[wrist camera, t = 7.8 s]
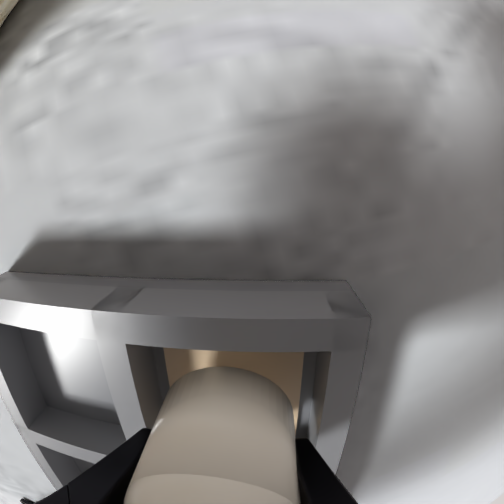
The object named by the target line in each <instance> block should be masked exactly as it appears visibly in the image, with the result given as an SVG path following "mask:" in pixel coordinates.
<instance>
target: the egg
mask: <svg viewBox="0 0 504 504" xmlns="http://www.w3.org/2000/svg"><path fill="white" fill-rule="evenodd" d="M295 438H296V437H295V426H294V415H293V408H292V405H291V402H290V400H289V398H288V397H287V395H286V394H285V393H284V392H283V390H282V389H281V388H280V387H279V386H277V385H276V384H275V383H274V382H272V381H271V380H269V379H267V378H266V377H264V376H262V375H259V374H257V373H255V372H252V371H248V370H245V369H240V368H235V367H225V366H223V367H207V368H202V369H198V370H195V371H192V372H189V373H187V374H185V375H183V376H182V377H180V378H179V379H178V380H177V381H176V382H175V383H173V385H172V386H171V387H170V389H169V391H168V393H167V395H166V397H165V400H164V402H163V404H162V407H161V409H160V411H159V414H158V416H157V418H156V421H155V423H154V426H153V428H152V430H151V433H150V435H149V437H148V440H147V442H146V445H145V447H144V450H143V452H142V454H141V457H140V459H139V462H138V464H137V467H136V469H135V471H134V474H133V476H132V479H131V481H130V484H129V486H128V489H127V491H126V495H125V498H124V504H301V501H300V489H299V481H298V473H297V462H296V444H295Z"/></svg>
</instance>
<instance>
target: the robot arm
mask: <svg viewBox="0 0 504 504" xmlns="http://www.w3.org/2000/svg"><path fill="white" fill-rule="evenodd" d="M151 430H152V429H149V428H142V429H140V430H139V431H138V432H137V433H135V434H134V435H133V436H131V437H130V438H129V439H128V440H126V441H125V442H124V443H122V444H121V445H120V446H118V447H117V448H116V449H114V450H113V451H112V452H110V453H109V454H108V455H106V456H105V457H104V458H102V459H101V460H100V461H98V462H97V463H96V464H94V465H93V466H91V467H90V468H89V469H87V470H86V471H85V472H83V473H82V474H80V475H79V476H78V477H76V478H75V479H73V480H72V481H70V482H69V483H68V485H67V484H66V485H64V486H63V487H62V488H60V489H59V490H57V491H56V492H54V493H52V494H51V495H49V496H48V497H46V498H44V499H42V500H40V501H38V502H36V503H34V504H124V498H125V495H126V491H127V489H128V486H129V484H130V481H131V479H132V476H133V474H134V471H135V469H136V467H137V464H138V462H139V459H140V457H141V454H142V452H143V450H144V447H145V445H146V442H147V440H148V437H149V435H150V433H151ZM295 444H296V462H297V473H298V481H299V489H300V501H301V504H358V503H357V502H356V500H355V499H354V498H353V497H352V495H351V494H350V493H349V492H348V490H347V489H346V488H345V487H344V485H343V484H342V483H341V481H340V480H339V479H338V478H337V476H336V475H335V474H334V472H333V471H332V470H331V468H330V467H329V466H328V464H327V463H326V462H325V460H324V459H323V458H322V456H321V455H320V454H319V452H318V451H317V450H316V448H315V447H314V446H313V444H312V443H311V442H310V440H309V439H308V438H295ZM20 502H21V503H22V504H32V503H30V502H28V501H26V500H24V499H21V500H20Z"/></svg>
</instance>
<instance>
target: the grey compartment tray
mask: <svg viewBox="0 0 504 504" xmlns="http://www.w3.org/2000/svg"><path fill="white" fill-rule="evenodd" d="M370 323H371V316H370V314H369V313H368V311H367V310H366V308H365V307H364V306H363V304H362V303H361V301H360V300H359V298H358V297H357V295H356V294H355V292H354V291H353V289H352V288H351V287H350V285H349V284H348V282H347V281H346V280H338V281H262V280H195V279H156V278H126V277H101V276H79V275H59V274H41V273H24V272H8V271H7V272H5V273H3V274H1V275H0V396H1V398H2V400H3V402H4V404H5V406H6V408H7V410H8V412H9V414H10V416H11V418H12V420H13V422H14V424H15V426H16V427H17V429H18V431H19V433H20V435H21V436H22V438H23V440H24V442H25V443H26V445H27V447H28V448H29V450H30V452H31V453H32V455H33V456H34V458H35V460H36V461H37V463H38V464H39V466H40V467H41V469H42V470H43V472H44V473H45V475H46V476H47V478H48V479H49V480H50V482H51V483H52V485H53V486H54V487H55V489H56V490H59V489H60V488H62V487H63V486H64V485H66V484H67V485H68V483H69V482H70V481H72V480H73V479H75V478H76V477H78V476H79V475H80V474H82V473H83V472H85V471H86V470H87V469H89V468H90V467H91V466H93V465H94V464H96V463H97V462H98V461H100V460H101V459H102V458H104V457H105V456H106V455H108V454H109V453H110V452H112V451H113V450H114V449H116V448H117V447H118V446H120V445H121V444H122V443H124V442H125V441H126V440H128V439H129V438H130V437H131V436H133V435H134V434H135V433H137V432H138V431H139V430H140V429H142V428H149V429H152V428H153V426H154V423H155V421H156V418H157V416H158V414H159V411H160V409H161V407H162V404H163V402H164V400H165V397H166V395H167V393H168V391H169V389H170V387H171V386H172V385H173V383H175V382H176V381H177V380H178V379H179V378H180V377H182V376H183V375H185V374H187V373H189V372H192V371H195V370H198V369H202V368H207V367H223V366H225V367H235V368H240V369H245V370H248V371H252V372H255V373H257V374H259V375H262V376H264V377H266V378H267V379H269V380H271V381H272V382H274V383H275V384H276V385H277V386H279V387H280V388H281V389H282V390H283V392H284V393H285V394H286V395H287V397H288V398H289V400H290V402H291V405H292V408H293V415H294V426H295V437H296V438H308V439H309V440H310V442H311V443H312V444H313V446H314V447H315V448H316V450H317V451H318V452H319V454H320V455H321V456H322V458H323V459H324V460H325V462H326V463H327V464H328V466H329V467H330V468H331V470H332V471H333V472H334V474H335V475H336V472H337V469H338V465H339V462H340V459H341V455H342V452H343V448H344V445H345V441H346V437H347V434H348V430H349V426H350V422H351V418H352V414H353V410H354V406H355V402H356V397H357V393H358V388H359V383H360V379H361V374H362V369H363V364H364V358H365V353H366V347H367V342H368V336H369V330H370Z"/></svg>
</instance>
